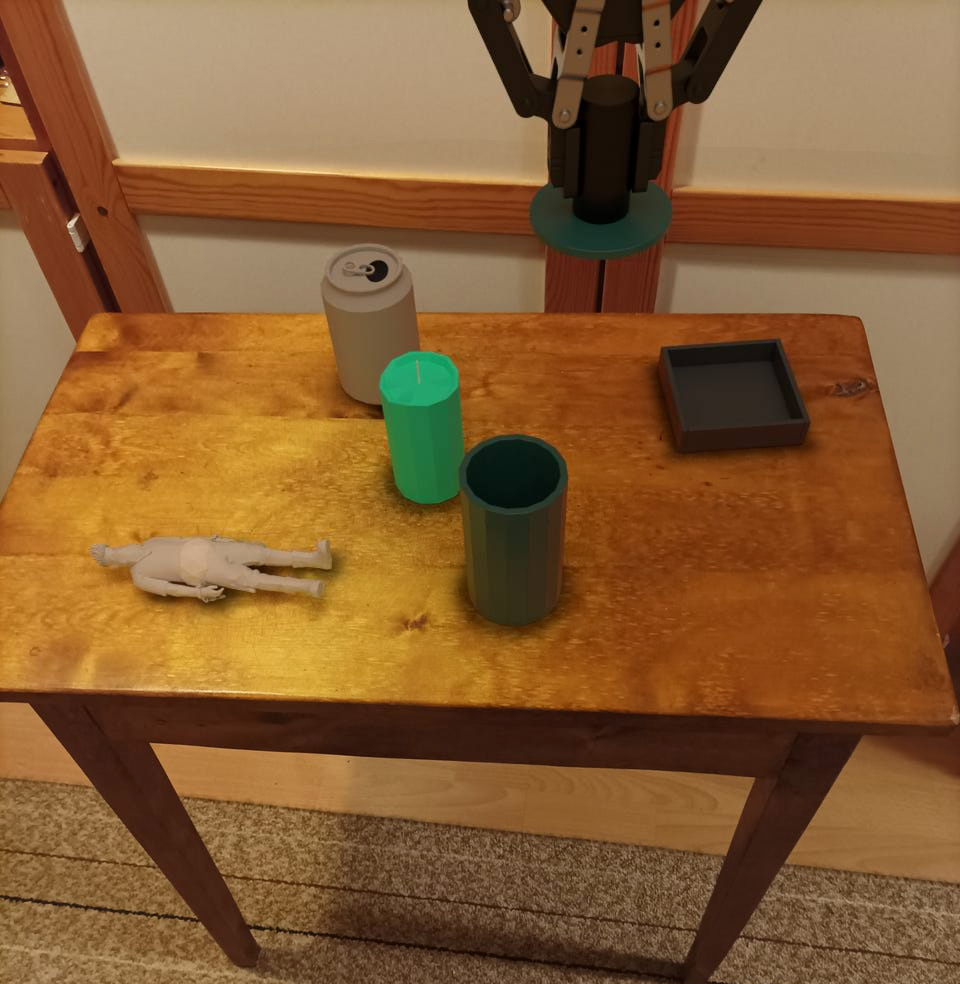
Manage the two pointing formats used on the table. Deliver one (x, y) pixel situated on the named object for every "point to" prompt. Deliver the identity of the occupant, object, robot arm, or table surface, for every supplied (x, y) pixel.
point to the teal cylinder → (514, 527)
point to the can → (368, 315)
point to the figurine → (211, 565)
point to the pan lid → (603, 183)
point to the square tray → (732, 396)
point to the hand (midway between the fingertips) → (603, 185)
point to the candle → (424, 425)
